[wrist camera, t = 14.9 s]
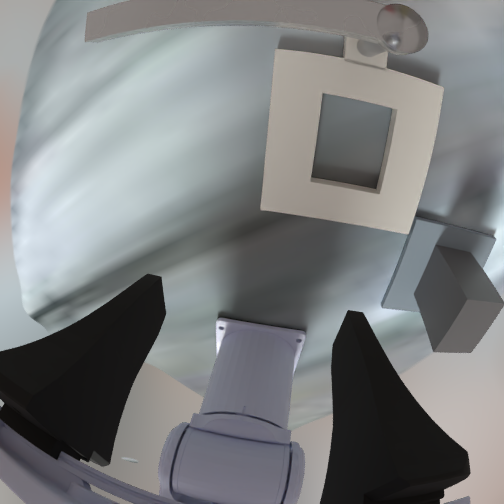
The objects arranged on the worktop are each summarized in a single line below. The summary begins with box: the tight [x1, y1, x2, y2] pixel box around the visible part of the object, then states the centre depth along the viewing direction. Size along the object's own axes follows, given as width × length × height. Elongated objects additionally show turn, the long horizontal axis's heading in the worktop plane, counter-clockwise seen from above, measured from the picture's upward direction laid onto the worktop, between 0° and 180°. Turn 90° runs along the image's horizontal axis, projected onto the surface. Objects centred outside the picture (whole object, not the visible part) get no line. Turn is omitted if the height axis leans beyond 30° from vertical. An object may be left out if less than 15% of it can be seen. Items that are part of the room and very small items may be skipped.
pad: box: [381, 216, 496, 312], centre depth 19 cm, size 8×8×1 cm
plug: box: [414, 245, 504, 353], centre depth 16 cm, size 5×4×6 cm
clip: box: [85, 0, 428, 55], centre depth 8 cm, size 14×2×1 cm, turn 86°
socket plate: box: [260, 36, 444, 234], centre depth 13 cm, size 12×10×6 cm
